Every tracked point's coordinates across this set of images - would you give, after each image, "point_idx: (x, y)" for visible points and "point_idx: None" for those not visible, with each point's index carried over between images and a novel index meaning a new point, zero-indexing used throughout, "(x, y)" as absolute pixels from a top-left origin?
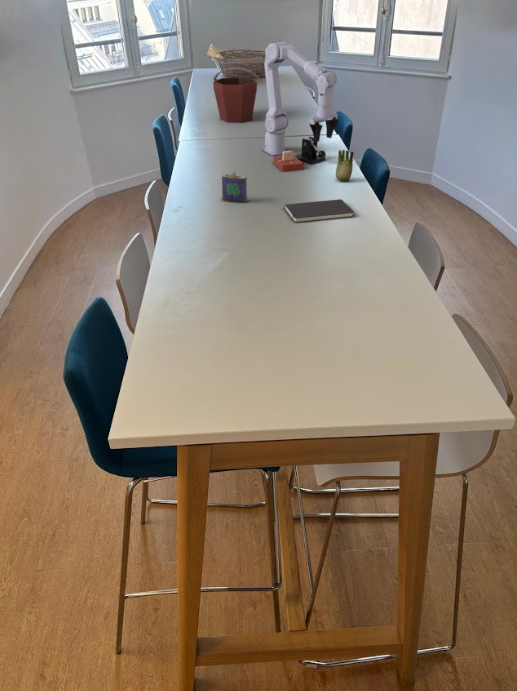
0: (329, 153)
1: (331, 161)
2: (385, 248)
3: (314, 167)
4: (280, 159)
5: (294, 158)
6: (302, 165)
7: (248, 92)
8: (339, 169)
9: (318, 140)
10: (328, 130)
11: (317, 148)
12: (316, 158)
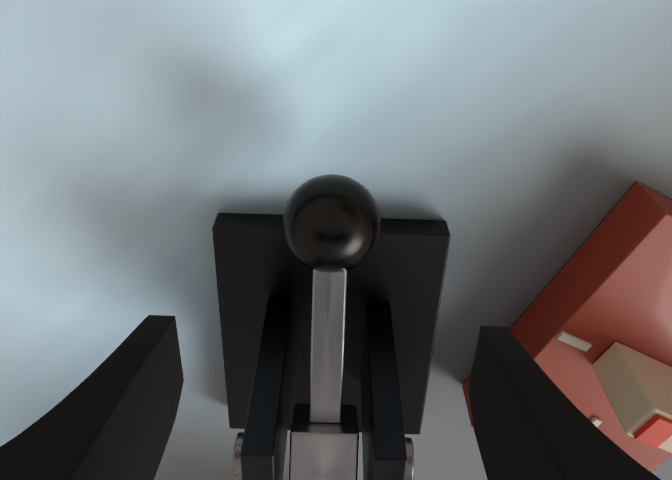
0: (31, 308)
1: (196, 138)
2: None
3: (503, 137)
4: None
5: (564, 363)
6: (662, 205)
7: None
8: None
9: (512, 337)
10: (139, 462)
11: (323, 328)
12: None
